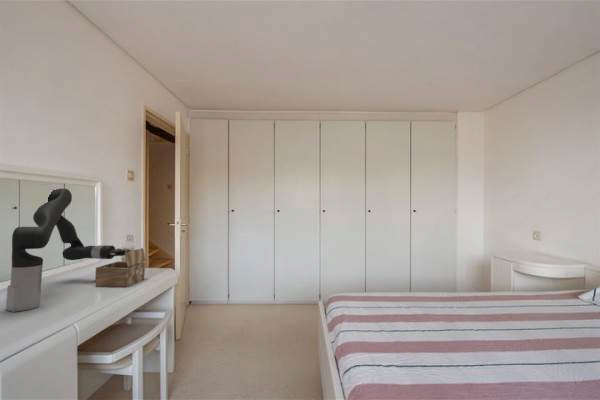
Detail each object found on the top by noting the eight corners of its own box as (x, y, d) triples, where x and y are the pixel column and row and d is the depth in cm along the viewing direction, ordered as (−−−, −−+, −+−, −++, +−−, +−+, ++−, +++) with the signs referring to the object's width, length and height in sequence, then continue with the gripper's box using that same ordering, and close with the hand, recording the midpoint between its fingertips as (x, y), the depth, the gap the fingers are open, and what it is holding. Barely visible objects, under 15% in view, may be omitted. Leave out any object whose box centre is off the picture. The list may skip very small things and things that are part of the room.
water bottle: (128, 276, 173) (131, 235, 174) (117, 275, 173) (119, 235, 174) (135, 273, 180) (138, 234, 181) (124, 273, 180) (127, 234, 181)
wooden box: (125, 287, 148) (126, 268, 148) (93, 286, 147) (95, 267, 148) (145, 279, 166) (145, 262, 167) (116, 278, 166) (117, 261, 167)
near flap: (127, 266, 149) (128, 266, 149) (124, 252, 149) (125, 252, 149) (144, 261, 166) (145, 261, 166) (142, 248, 166) (143, 248, 166)
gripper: (95, 246, 151) (127, 247, 151) (111, 244, 164) (141, 244, 165) (94, 260, 151) (127, 261, 151) (110, 256, 164) (140, 257, 164)
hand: (134, 252), depth 158 cm, fingers closed
